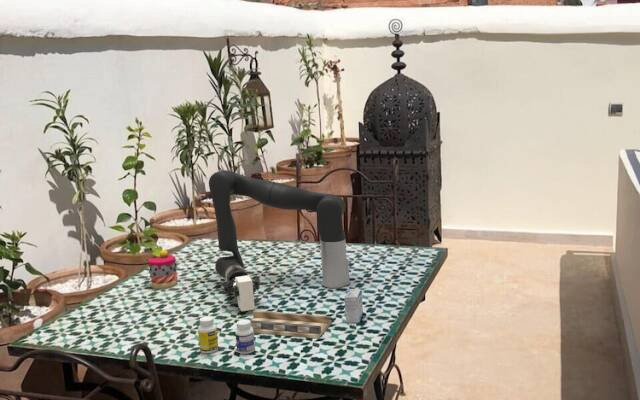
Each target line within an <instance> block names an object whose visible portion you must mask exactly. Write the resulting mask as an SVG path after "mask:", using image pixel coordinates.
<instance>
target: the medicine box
mask: <svg viewBox="0 0 640 400" xmlns="http://www.w3.org/2000/svg"><path fill="white" fill-rule="evenodd" d="M363 307H364V306H363V292H362V289H361V288H349V289H347V292H346V295H345V296H344V313H345V322H346V323H348V324H349V323H350V324H351V323H354V324H355V323H356V324H357V323H358V324H360V322H361V320H362V317H363V314H364V308H363Z"/></svg>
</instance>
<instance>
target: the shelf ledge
mask: <svg viewBox="0 0 640 400" xmlns="http://www.w3.org/2000/svg"><path fill="white" fill-rule="evenodd" d="M252 316H253V317H252V318H251V319H249V320H250V322H251V326H250V327H252V328H253V331H254V334H263V335H264V334H266V335H273V336H287V337H298V338H306V339H307V338H310V339H319V338H320V337H321V336H322V335H323V334H324V333H325V332H326V330H328V328H329V327H330V326H331V325H332V320H331V319H330V318H331V317H330V315H320V314H319V315H318V314H317V315H315V314H308V313H307V314H304V313H293V312H292V313H291V312H281V311H280V312H278V311H263V310H252Z"/></svg>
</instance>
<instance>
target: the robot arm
mask: <svg viewBox="0 0 640 400" xmlns="http://www.w3.org/2000/svg"><path fill="white" fill-rule="evenodd" d="M208 187H209V192H210V197H211V200H212V204H213V210H214V214H215V221H216V222H215V223H216V228H217V229H216V230H217V241H218V248H219V250H220V251H222V252H231V253H232V255H229V256H222V257H219V258H217V260H216V261H215V265H214V267H215V271H216V274H218V275H219V276H220V277H221V278H224V279H225V280H226V282H220V283H221V291H222V292H224V293H226V294H227V295H228V294H229V295H230V294H234V295H235V296H236V297H237V296H239V289H238V288H237V287H236V279H235V277H240V276H246V275H249V274H248V273H247V271H246V270H245V265H244V261H243V257H242V256H241V253H240V250H239V249H240V248H239V245H238V237H237V235H238V234H237V227H236V222H235V220H234V217H233V214H232V210H231V203H230V200H231V199H230V198H231V196H230V195H237V196H242V197H246V198H251V199H252V200H254V201H256V202H258V203H259V204H262V205H265V206H267V207H271V208H275V209H280V210H288V211H290V210H291V211H293V210H295V211H297V210H299V211H309V212H313V213H316V222H317V231H318V234H319V240H320V241H319V242H320V256H321V276H322V286H324V287H325V288H329V289H330V288H331V289H338V288H343V287H346V286H348V285H351V282H350V267H349V263H350V262H349V259H348V258H347V244H346V242H347V241H346V231H345V230H344V227H343V226H344V225H343V215H344V213H345V212H346V208H347V207H346V202H345V200H344V198H343V197H341V196H339V195H337V194H332V193H326V192H317V191H312V190H311V191H310V190H307V189H304V188H300V187H296V186H292V185H289V184H285V183H281V182H276V181H271V180H265V179H259V178H253V177H249V176H245V175H242V174H241V173H237V172H234V171H231V170H226V169H225V170H220V171H216V172H213V174H211V175H210V176H209V180H208ZM251 280H252V284H253V295H254V294H255V293H257V290H259V289H260V286H261V279H260V276H257V277H255V278H254V279H253V278H251Z"/></svg>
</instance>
